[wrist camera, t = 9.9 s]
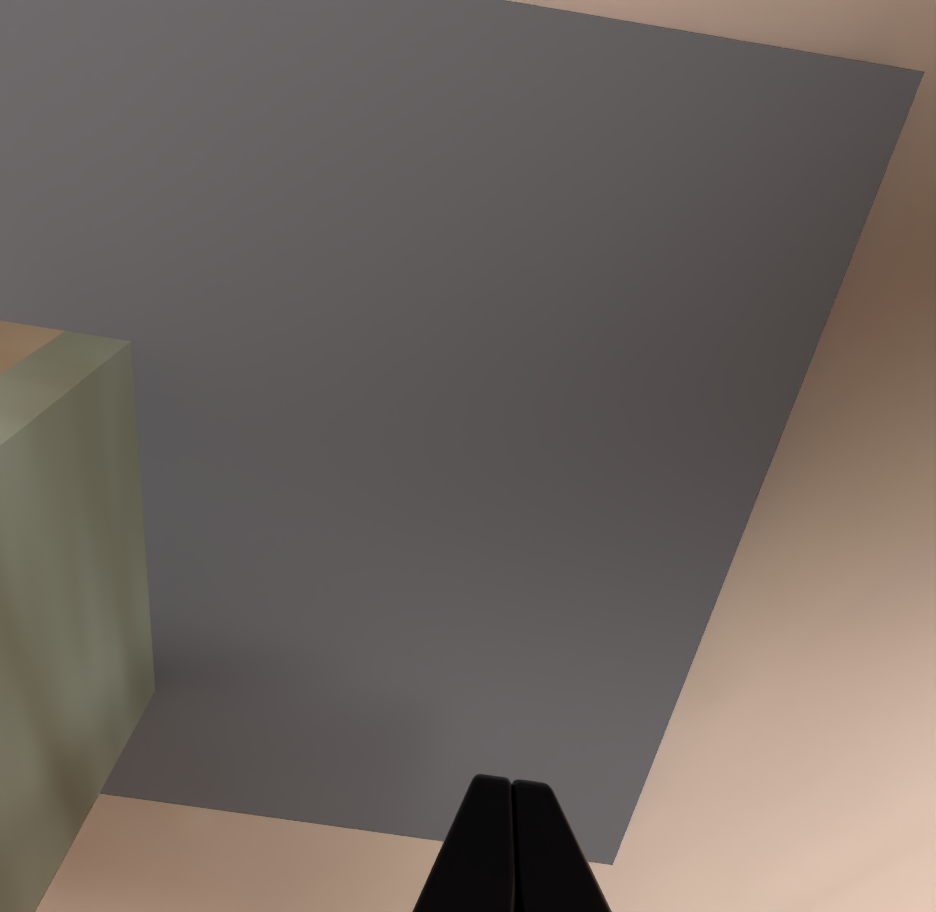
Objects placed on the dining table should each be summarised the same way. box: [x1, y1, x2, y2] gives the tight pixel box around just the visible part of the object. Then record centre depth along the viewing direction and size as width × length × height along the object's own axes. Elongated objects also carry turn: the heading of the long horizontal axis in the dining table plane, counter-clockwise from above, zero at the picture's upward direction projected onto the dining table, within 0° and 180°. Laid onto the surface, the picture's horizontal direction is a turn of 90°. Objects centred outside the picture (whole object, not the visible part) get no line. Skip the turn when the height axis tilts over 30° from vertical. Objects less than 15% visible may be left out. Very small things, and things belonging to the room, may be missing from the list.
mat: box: [0, 0, 924, 865], centre depth 11 cm, size 16×13×1 cm
